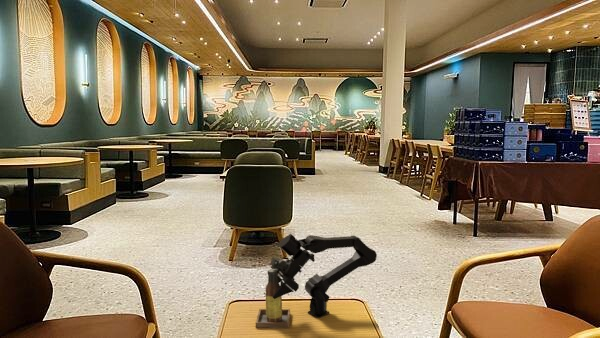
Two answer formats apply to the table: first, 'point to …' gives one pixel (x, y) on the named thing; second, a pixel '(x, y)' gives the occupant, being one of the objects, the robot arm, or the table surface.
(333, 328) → the table surface
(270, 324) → the walnut frame
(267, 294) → the sauce bottle
